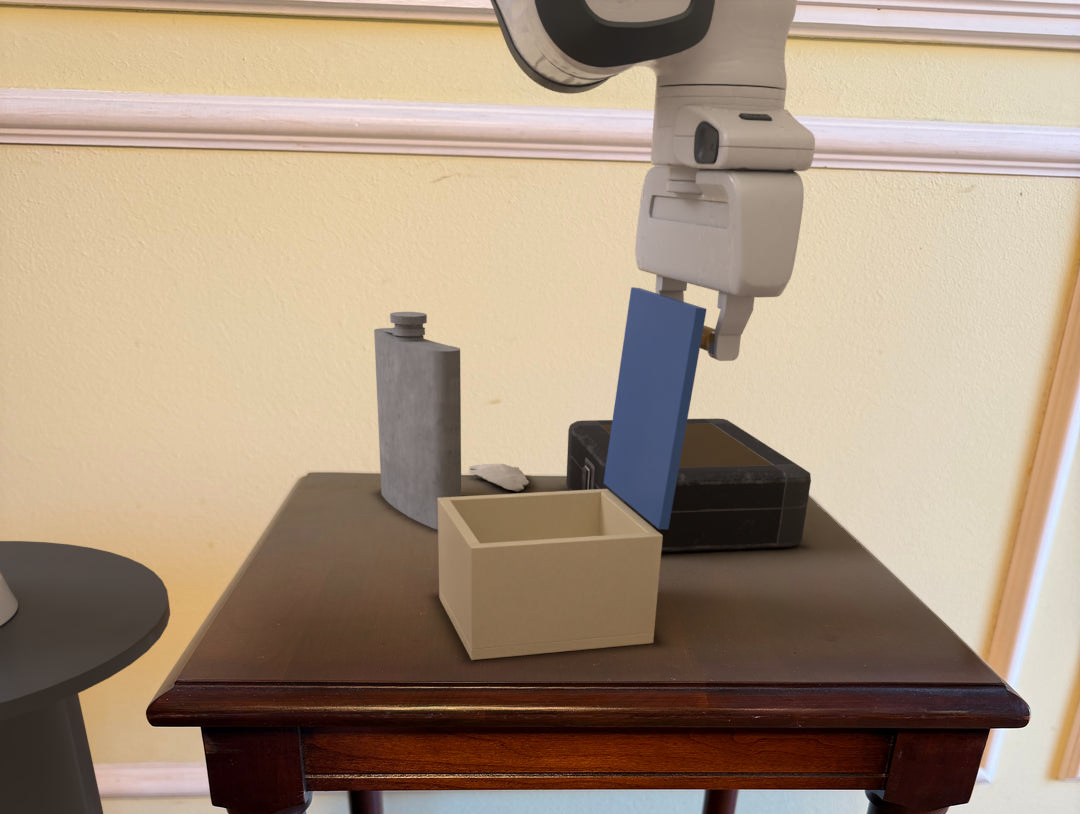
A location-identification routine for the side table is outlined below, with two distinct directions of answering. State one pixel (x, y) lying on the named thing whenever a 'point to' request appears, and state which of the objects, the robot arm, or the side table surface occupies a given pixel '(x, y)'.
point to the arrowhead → (501, 475)
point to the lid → (653, 401)
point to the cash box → (711, 487)
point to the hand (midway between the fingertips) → (696, 348)
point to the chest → (547, 572)
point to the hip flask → (417, 417)
